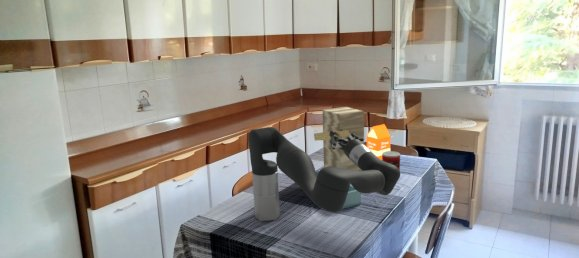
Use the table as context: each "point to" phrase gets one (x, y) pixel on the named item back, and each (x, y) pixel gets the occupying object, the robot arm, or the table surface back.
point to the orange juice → (378, 140)
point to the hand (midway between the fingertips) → (335, 131)
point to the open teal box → (351, 197)
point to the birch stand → (335, 122)
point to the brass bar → (326, 136)
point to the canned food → (391, 158)
